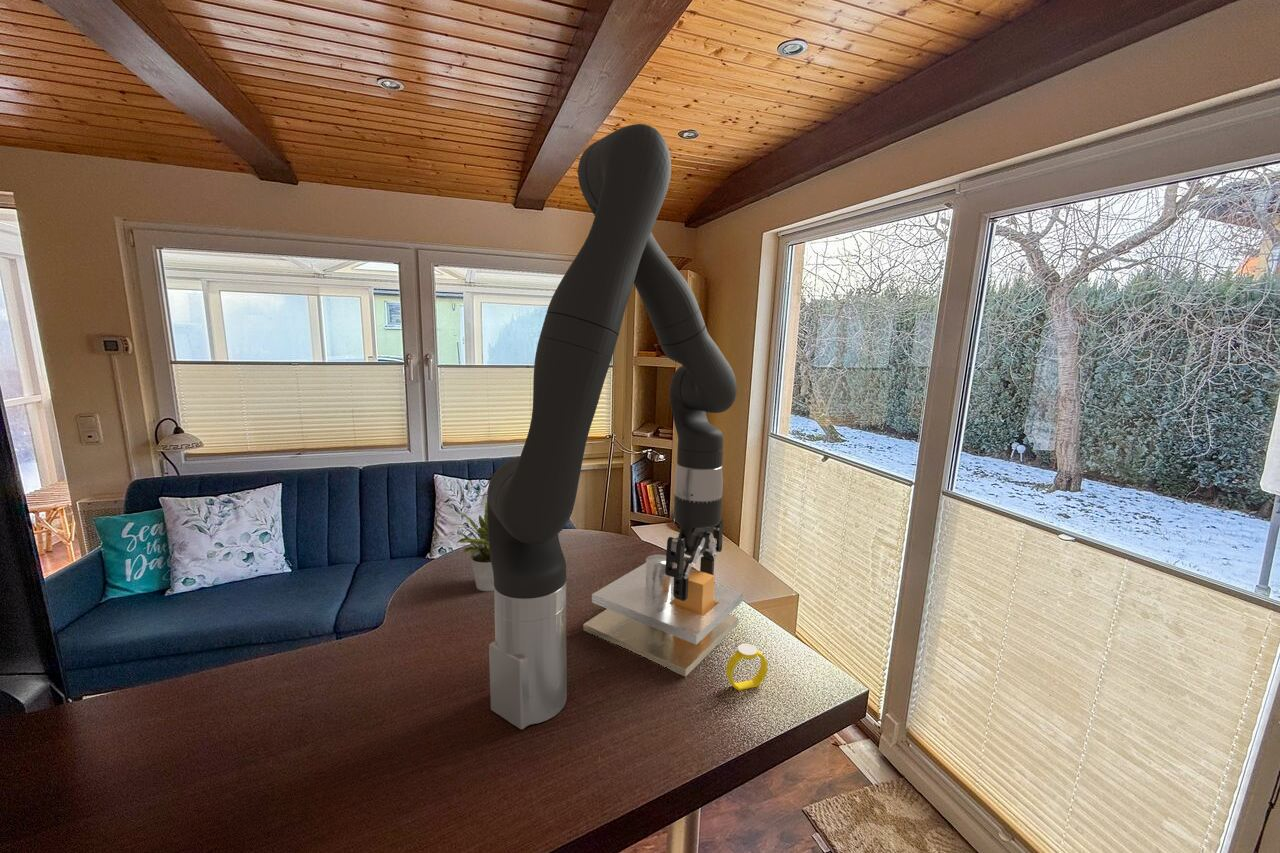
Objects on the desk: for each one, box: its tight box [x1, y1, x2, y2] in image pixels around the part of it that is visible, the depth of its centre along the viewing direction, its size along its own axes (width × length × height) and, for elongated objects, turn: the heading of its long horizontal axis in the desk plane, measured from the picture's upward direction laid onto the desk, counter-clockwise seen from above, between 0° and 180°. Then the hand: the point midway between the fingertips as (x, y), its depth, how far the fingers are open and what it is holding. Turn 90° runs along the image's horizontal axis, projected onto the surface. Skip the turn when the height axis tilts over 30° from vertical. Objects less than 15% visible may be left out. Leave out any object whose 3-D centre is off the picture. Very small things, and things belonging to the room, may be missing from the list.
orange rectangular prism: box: [674, 568, 716, 644], centre depth 83 cm, size 4×5×10 cm
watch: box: [725, 643, 768, 692], centre depth 73 cm, size 6×3×6 cm, turn 108°
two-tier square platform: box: [582, 554, 744, 678], centre depth 87 cm, size 18×21×12 cm
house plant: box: [452, 501, 494, 592], centre depth 101 cm, size 14×14×16 cm
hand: (694, 588), depth 83 cm, fingers open, 8 cm apart
